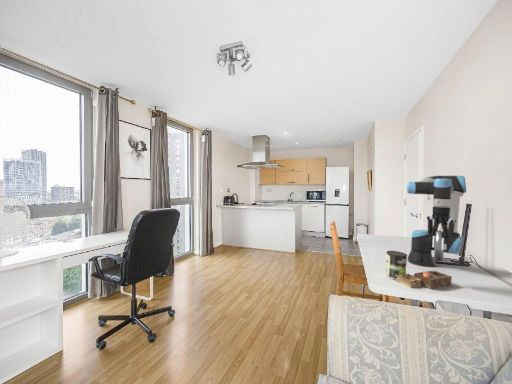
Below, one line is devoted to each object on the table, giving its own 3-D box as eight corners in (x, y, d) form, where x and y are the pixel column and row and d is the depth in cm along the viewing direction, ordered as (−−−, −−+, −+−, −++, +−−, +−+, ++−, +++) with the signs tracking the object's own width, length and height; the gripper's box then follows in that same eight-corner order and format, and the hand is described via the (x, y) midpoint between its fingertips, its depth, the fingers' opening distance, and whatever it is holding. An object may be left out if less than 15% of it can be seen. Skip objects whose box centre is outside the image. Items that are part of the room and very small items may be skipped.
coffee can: (410, 279, 130) (411, 255, 130) (396, 281, 128) (397, 256, 127) (395, 272, 140) (396, 250, 140) (381, 274, 138) (382, 251, 137)
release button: (425, 280, 125) (425, 271, 125) (430, 283, 123) (431, 274, 122) (421, 281, 124) (421, 272, 124) (427, 283, 122) (427, 274, 121)
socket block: (433, 278, 132) (433, 270, 132) (451, 285, 124) (451, 276, 123) (413, 282, 127) (414, 273, 127) (430, 289, 118) (431, 279, 118)
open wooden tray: (407, 279, 130) (407, 273, 130) (421, 285, 122) (421, 279, 122) (396, 281, 127) (397, 275, 127) (410, 287, 120) (411, 281, 120)
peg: (437, 258, 129) (438, 230, 128) (444, 260, 125) (446, 232, 125) (432, 259, 128) (433, 231, 127) (440, 261, 124) (441, 232, 123)
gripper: (420, 205, 132) (419, 244, 133) (454, 208, 116) (452, 253, 117) (429, 204, 134) (427, 243, 135) (464, 208, 118) (461, 252, 119)
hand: (439, 248), depth 126 cm, fingers closed on peg, 4 cm apart
